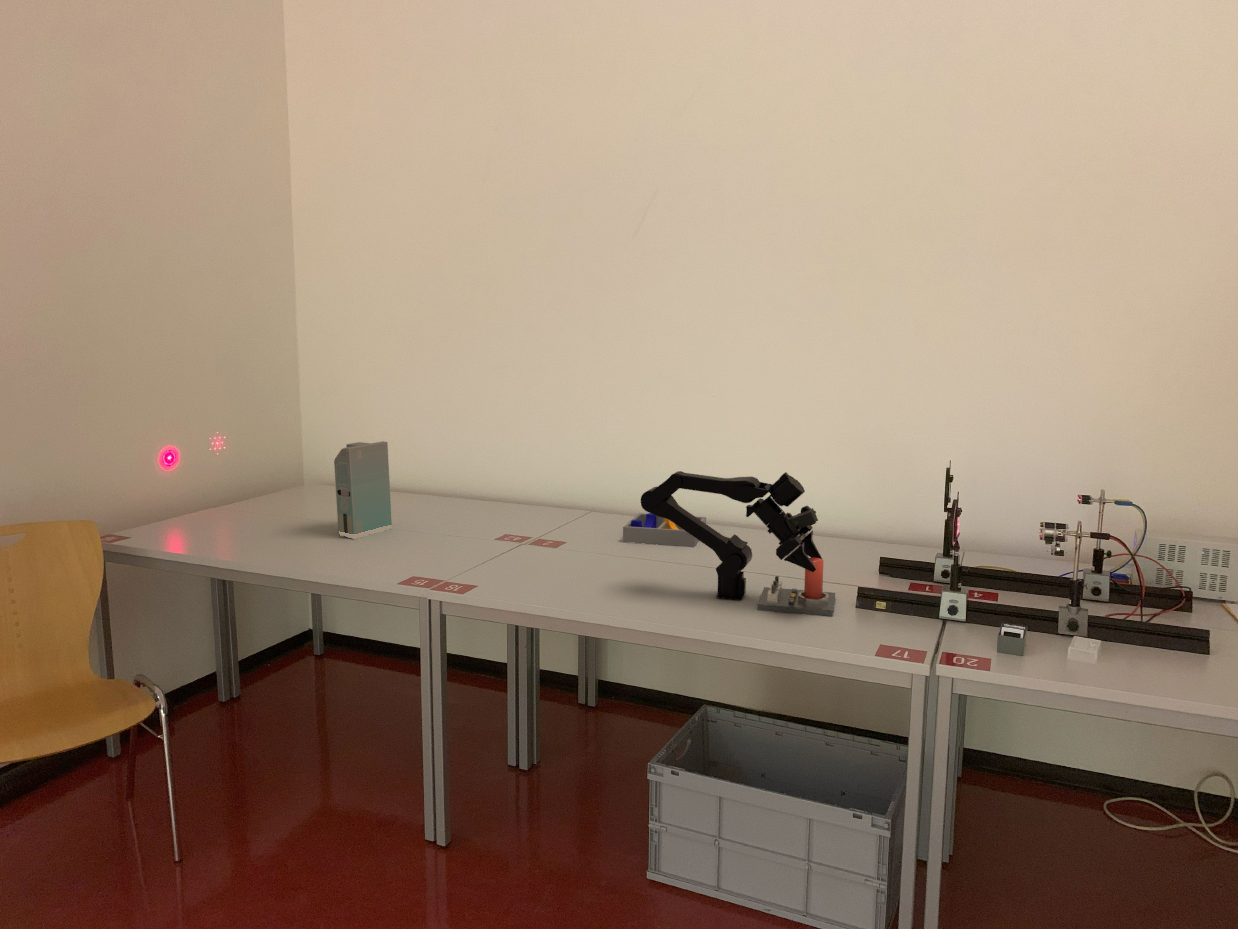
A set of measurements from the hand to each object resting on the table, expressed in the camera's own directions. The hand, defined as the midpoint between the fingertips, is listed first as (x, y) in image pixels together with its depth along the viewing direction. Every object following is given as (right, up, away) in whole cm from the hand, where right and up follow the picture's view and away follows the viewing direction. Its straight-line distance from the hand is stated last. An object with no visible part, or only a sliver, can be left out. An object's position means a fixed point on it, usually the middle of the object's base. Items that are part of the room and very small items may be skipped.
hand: (817, 565), depth 220 cm
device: (-134, +2, +78) cm, 155 cm away
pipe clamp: (-29, +1, +69) cm, 75 cm away
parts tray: (-34, +1, +70) cm, 78 cm away
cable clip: (-40, +1, +73) cm, 84 cm away
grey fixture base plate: (-5, -10, +3) cm, 11 cm away
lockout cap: (-1, -8, +2) cm, 9 cm away
